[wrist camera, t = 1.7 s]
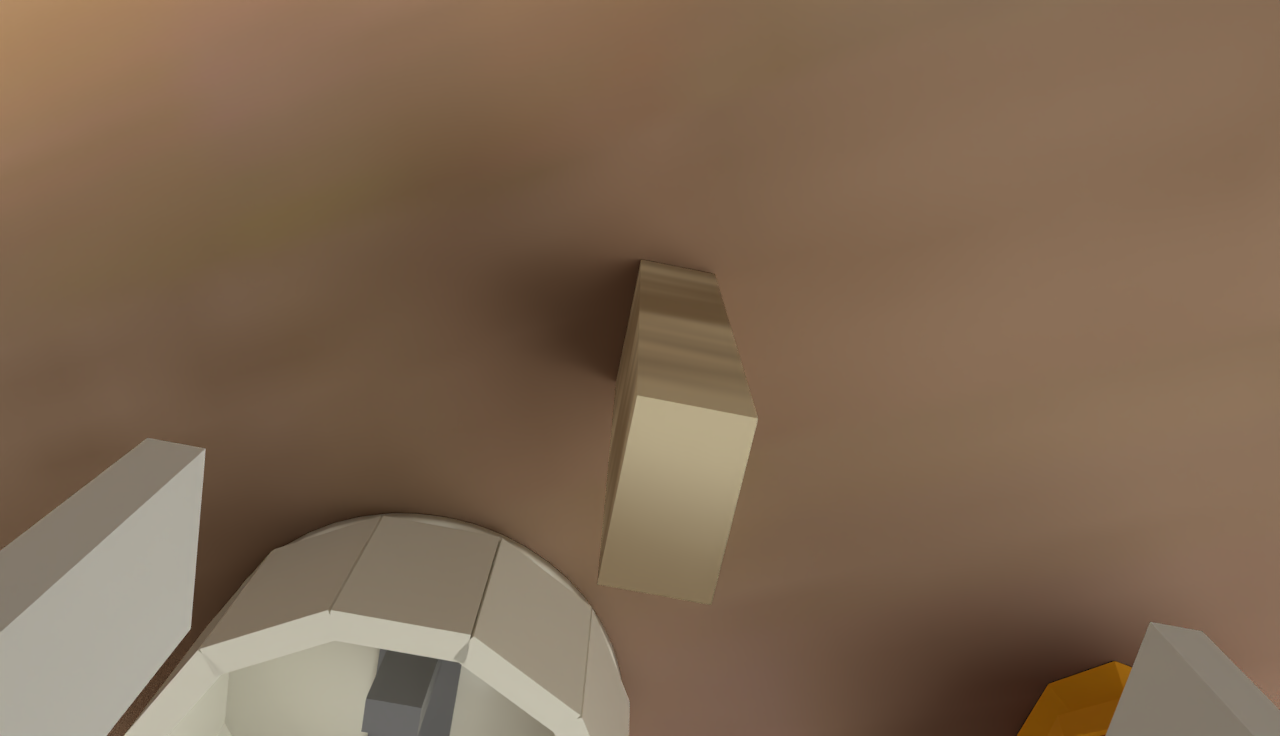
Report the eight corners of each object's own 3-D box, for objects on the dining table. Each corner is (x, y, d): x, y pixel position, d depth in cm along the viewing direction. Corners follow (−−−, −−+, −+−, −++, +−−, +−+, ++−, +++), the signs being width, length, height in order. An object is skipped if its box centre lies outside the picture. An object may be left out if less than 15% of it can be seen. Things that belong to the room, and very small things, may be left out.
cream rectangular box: (641, 259, 27) (637, 395, 16) (715, 274, 27) (758, 418, 17) (615, 382, 28) (597, 584, 17) (687, 396, 28) (710, 605, 18)
